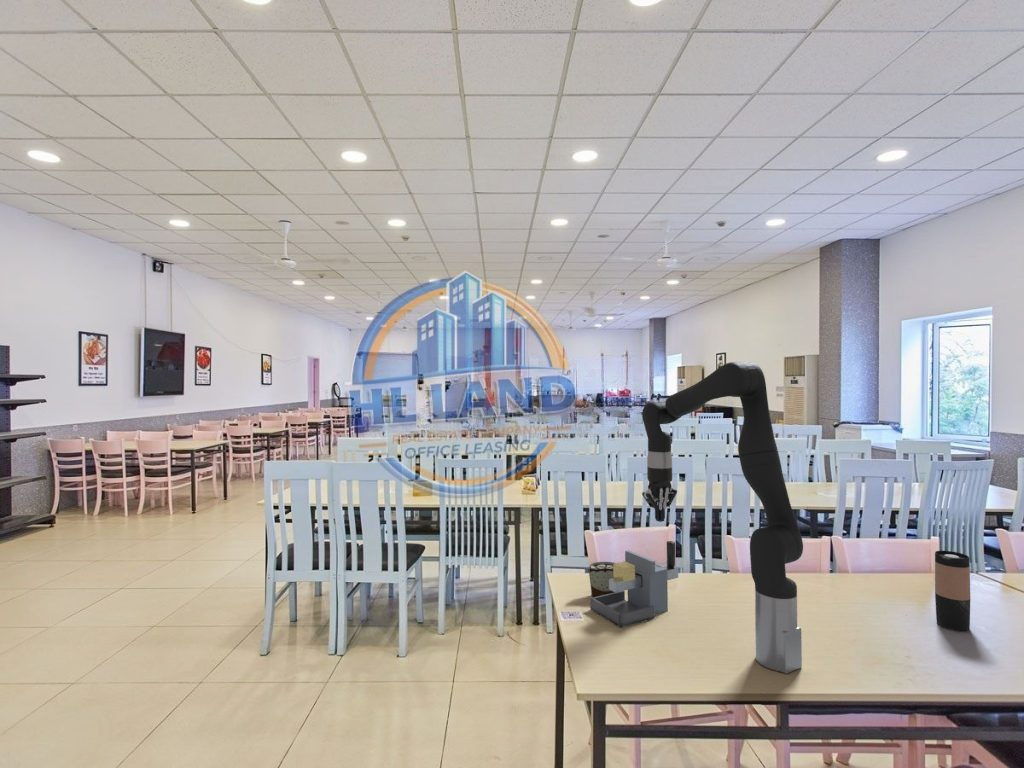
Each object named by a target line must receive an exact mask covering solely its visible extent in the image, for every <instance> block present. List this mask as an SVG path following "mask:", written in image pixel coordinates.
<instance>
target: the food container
mask: <svg viewBox="0 0 1024 768" xmlns="http://www.w3.org/2000/svg"><path fill="white" fill-rule="evenodd" d="M615 563H616V562H614V561H613V562H612V561H595V562H592V563H590V564H589V565H588V567H587V569H586V574H588V576H589V582H590V593H591V594H590V595H591V598H593V597H597V596H601V595H606V594H610V593H614V592H613V591H611V590H610V589H609V579H612V578H614V577H613V564H615Z"/></svg>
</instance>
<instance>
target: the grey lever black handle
mask: <svg viewBox="0 0 1024 768" xmlns="http://www.w3.org/2000/svg"><path fill="white" fill-rule="evenodd" d="M662 567H663V568H666V569H667V581H671V580H674V579H679V568H678V567H676V541H672V540H668V541H666V565H665V566H662ZM641 586H642V575H640V574H637V573H635V579H634V580H629V581H625V582H622V581H620V580H618V579H616V578H612V579H609V589H610V590H611V591H613V592H615V593H616V592H620V591H625V592H626V591H628V590H629V589H633V588H637V587H641Z"/></svg>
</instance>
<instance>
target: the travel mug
mask: <svg viewBox="0 0 1024 768" xmlns="http://www.w3.org/2000/svg"><path fill="white" fill-rule="evenodd" d="M970 572H971V568H970V557H969V556H968V555H967V554H964V553H961V552H957V551H950V550H936V551H934V601H935V618H936V624H937V625H938V626H940V627H942V628H944V629H947V630H950V631H955V632H962V633H963V632H964V633H965V632H970V627H971V574H970Z"/></svg>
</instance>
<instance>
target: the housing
mask: <svg viewBox="0 0 1024 768" xmlns="http://www.w3.org/2000/svg"><path fill="white" fill-rule="evenodd" d="M624 553H625V554H624V556H625V558H624V559H625V560H624V561H625V562H628V563H630V564H632V565H634V566H635V573H637V574H640V575H642V586H641V587H637V588H633V589H629V590H627V601H628V602H630V603H632V604H633V605H635V606H637V607H639V608H645V607H648V606H654V614H655V615H658V614H661V612H662V613H666V612H668V611H669V610H668V607H669V606H668V605H669V604H668V602H669V601H668V594H669V593H668V589H669V588H668V580H667V569H666V568H663V567H664V566H661V565H658V564H656V560H653V559H651V558H648V557H646V556H643V555H640V554H639V553H636V552H633V551H631V550H625V551H624Z"/></svg>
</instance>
